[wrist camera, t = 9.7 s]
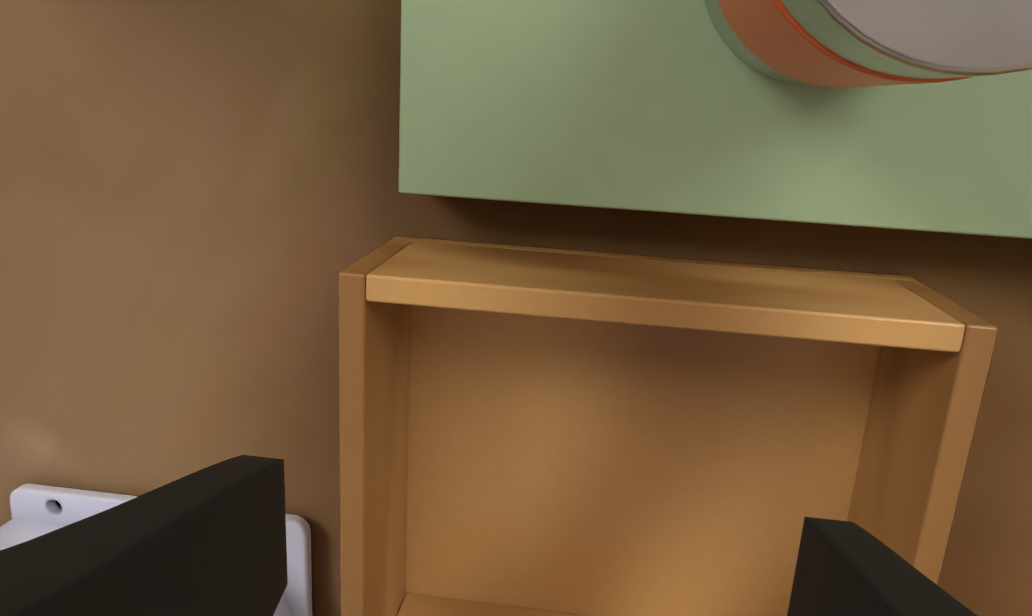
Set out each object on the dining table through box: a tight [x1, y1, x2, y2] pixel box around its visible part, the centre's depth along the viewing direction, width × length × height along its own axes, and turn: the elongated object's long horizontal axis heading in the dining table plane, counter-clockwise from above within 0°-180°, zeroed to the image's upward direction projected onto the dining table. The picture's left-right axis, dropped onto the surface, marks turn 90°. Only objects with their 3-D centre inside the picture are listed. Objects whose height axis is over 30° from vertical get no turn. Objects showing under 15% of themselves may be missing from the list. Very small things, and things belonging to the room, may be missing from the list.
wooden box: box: [338, 236, 998, 616], centre depth 19 cm, size 13×11×4 cm
